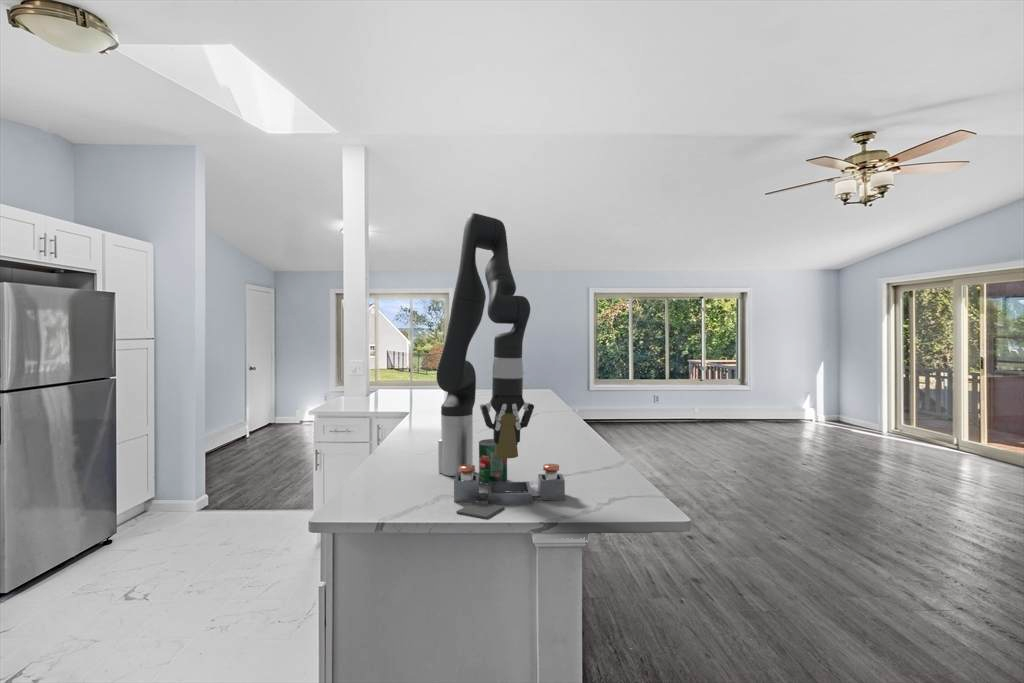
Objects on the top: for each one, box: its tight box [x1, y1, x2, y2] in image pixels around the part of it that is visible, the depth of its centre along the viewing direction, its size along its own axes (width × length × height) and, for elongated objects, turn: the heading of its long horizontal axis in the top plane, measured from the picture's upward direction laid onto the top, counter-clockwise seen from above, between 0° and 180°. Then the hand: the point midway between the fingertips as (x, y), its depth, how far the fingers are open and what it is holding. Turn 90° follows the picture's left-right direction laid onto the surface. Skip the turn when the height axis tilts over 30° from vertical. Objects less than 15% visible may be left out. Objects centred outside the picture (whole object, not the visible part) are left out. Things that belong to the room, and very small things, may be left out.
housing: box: [453, 473, 566, 505], centre depth 134 cm, size 27×11×5 cm, turn 92°
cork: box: [494, 412, 519, 459], centre depth 133 cm, size 6×6×11 cm
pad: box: [456, 501, 505, 520], centre depth 124 cm, size 8×8×1 cm
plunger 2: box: [542, 463, 560, 480], centre depth 134 cm, size 4×4×7 cm
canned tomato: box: [478, 438, 508, 485], centre depth 149 cm, size 8×8×11 cm
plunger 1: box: [459, 464, 476, 480], centre depth 133 cm, size 4×4×7 cm
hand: (506, 444), depth 133 cm, fingers closed on cork, 3 cm apart
